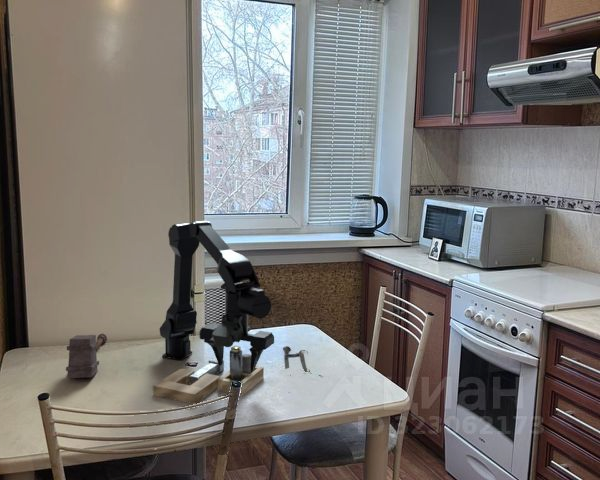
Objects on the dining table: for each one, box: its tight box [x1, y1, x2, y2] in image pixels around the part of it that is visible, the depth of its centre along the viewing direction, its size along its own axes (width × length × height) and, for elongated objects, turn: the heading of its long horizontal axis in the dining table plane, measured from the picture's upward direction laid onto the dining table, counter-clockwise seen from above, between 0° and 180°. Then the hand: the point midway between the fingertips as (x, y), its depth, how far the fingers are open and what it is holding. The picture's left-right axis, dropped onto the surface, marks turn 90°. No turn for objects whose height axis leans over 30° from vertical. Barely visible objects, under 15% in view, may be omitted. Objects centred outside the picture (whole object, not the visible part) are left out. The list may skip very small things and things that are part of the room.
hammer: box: [65, 333, 108, 379], centre depth 165 cm, size 7×33×10 cm, turn 8°
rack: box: [217, 353, 265, 397], centre depth 150 cm, size 7×12×7 cm, turn 158°
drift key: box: [189, 358, 225, 385], centre depth 154 cm, size 4×12×3 cm, turn 158°
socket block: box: [152, 368, 221, 404], centre depth 146 cm, size 12×12×2 cm
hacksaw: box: [282, 346, 324, 378], centre depth 166 cm, size 24×10×2 cm, turn 3°
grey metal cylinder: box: [229, 345, 243, 382], centre depth 147 cm, size 3×3×10 cm
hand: (236, 368), depth 148 cm, fingers open, 9 cm apart
